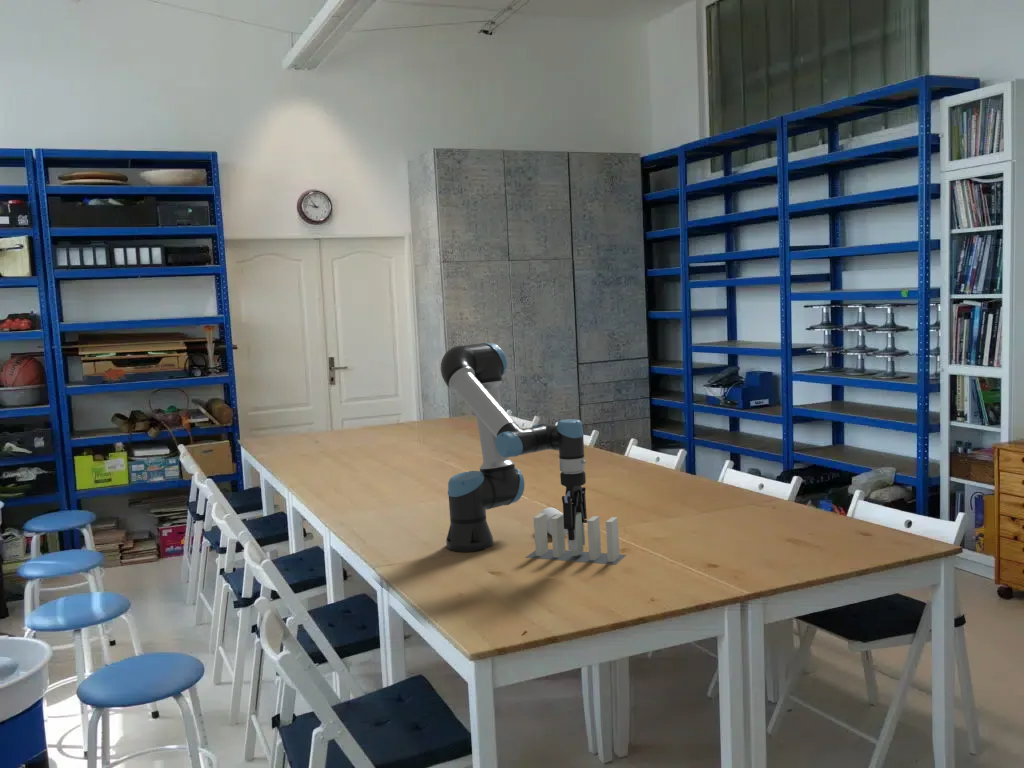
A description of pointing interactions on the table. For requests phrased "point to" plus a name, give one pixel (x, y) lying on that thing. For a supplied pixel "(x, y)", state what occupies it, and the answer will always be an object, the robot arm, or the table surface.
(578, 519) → the tile
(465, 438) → the table surface
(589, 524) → the tile
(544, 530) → the tile
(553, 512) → the mug
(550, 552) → the strip
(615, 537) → the tile
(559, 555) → the tile
